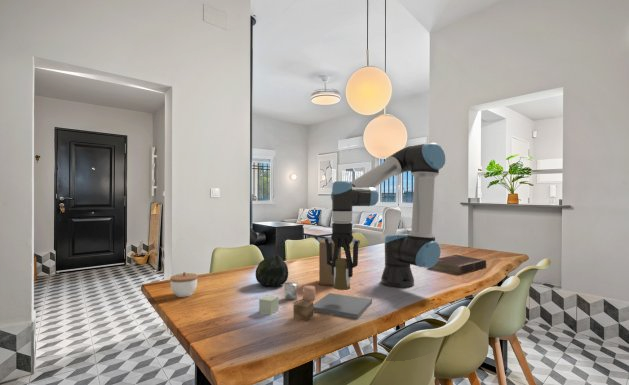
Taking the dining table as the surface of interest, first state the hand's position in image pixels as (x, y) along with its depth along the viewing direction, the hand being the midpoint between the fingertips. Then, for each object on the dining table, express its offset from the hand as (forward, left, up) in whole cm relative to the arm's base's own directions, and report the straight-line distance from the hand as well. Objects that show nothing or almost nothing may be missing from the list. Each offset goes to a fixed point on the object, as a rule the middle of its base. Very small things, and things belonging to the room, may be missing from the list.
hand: (342, 284), depth 123 cm
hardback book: (-36, -90, -9) cm, 97 cm away
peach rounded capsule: (+15, -2, -8) cm, 17 cm away
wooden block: (+17, -29, -9) cm, 35 cm away
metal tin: (+22, 0, -8) cm, 24 cm away
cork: (0, 0, -1) cm, 1 cm away
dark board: (0, 0, -8) cm, 8 cm away
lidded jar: (+65, +15, -9) cm, 67 cm away
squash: (+40, -14, -9) cm, 43 cm away
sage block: (+22, +16, -8) cm, 28 cm away
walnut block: (+8, +16, -8) cm, 20 cm away
